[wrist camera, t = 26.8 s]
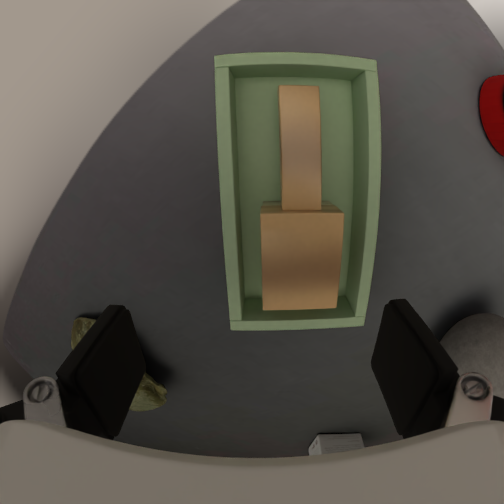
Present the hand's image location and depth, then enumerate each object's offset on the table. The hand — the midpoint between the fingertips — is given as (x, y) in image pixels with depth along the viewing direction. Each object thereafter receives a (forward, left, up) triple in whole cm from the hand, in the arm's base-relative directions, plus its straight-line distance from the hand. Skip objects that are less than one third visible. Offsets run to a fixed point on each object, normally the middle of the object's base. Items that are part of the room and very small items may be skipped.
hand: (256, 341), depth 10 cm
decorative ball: (+11, +20, -11) cm, 25 cm away
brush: (-3, +2, -10) cm, 11 cm away
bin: (-3, +2, -11) cm, 12 cm away
